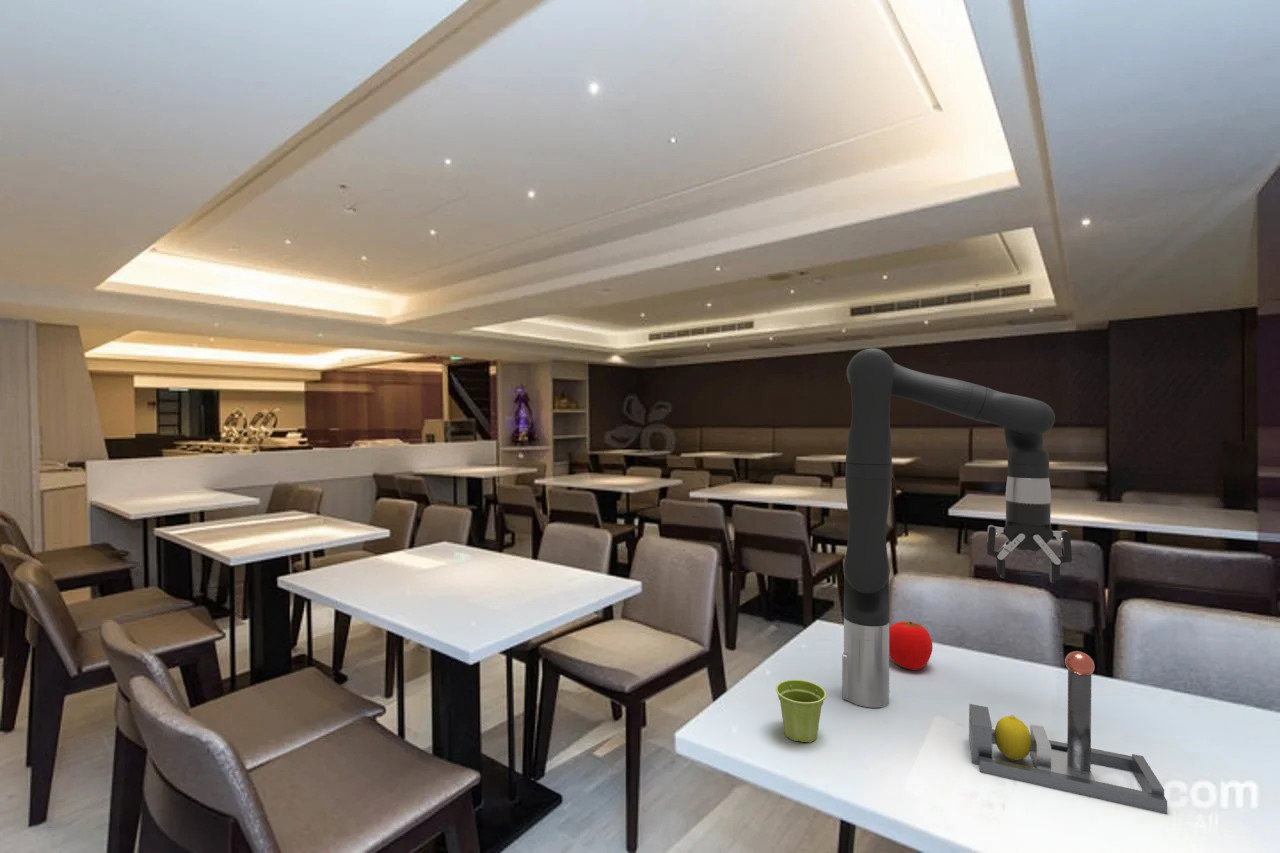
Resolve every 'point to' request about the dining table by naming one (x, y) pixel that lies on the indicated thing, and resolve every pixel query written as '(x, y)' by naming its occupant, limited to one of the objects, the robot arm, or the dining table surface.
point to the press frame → (982, 755)
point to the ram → (1070, 725)
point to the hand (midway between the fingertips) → (1027, 579)
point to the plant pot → (800, 708)
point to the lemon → (1012, 738)
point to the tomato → (909, 645)
